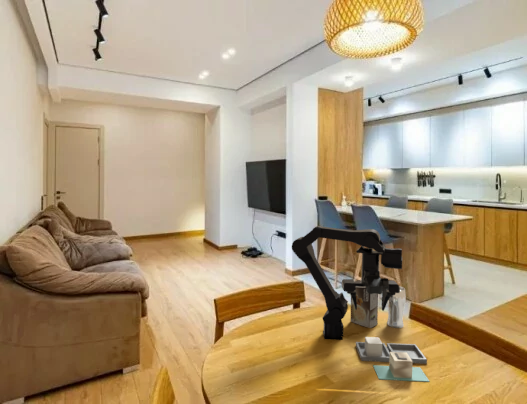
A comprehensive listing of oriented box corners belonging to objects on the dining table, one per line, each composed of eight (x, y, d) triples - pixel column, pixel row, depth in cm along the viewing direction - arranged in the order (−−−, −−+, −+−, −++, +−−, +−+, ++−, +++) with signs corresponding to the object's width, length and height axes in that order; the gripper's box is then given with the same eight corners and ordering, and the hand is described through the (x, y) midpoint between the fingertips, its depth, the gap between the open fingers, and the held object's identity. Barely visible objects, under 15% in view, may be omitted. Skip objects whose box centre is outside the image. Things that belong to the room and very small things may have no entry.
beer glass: (406, 329, 131) (407, 291, 130) (387, 327, 132) (388, 290, 131) (402, 322, 137) (403, 285, 136) (384, 320, 139) (385, 284, 138)
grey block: (367, 356, 110) (368, 343, 110) (364, 349, 114) (365, 336, 114) (382, 357, 109) (382, 344, 109) (378, 350, 114) (378, 337, 114)
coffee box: (378, 324, 135) (379, 284, 134) (369, 329, 131) (371, 288, 130) (358, 317, 142) (358, 279, 141) (349, 321, 138) (350, 282, 137)
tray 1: (361, 361, 108) (361, 356, 107) (355, 346, 117) (355, 341, 117) (392, 363, 107) (392, 357, 107) (384, 348, 116) (384, 343, 116)
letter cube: (394, 377, 98) (394, 360, 98) (389, 367, 103) (389, 351, 103) (412, 378, 98) (412, 360, 98) (406, 368, 103) (406, 352, 102)
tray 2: (395, 363, 107) (395, 357, 107) (386, 348, 116) (386, 343, 116) (426, 364, 106) (427, 359, 106) (415, 349, 116) (415, 344, 115)
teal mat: (379, 380, 98) (379, 378, 98) (373, 367, 105) (373, 365, 105) (429, 383, 97) (429, 381, 97) (420, 369, 104) (420, 367, 103)
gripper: (346, 271, 111) (345, 318, 112) (405, 273, 109) (404, 320, 110) (341, 263, 122) (340, 305, 123) (395, 264, 120) (393, 307, 121)
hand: (369, 309), depth 119 cm, fingers open, 9 cm apart
